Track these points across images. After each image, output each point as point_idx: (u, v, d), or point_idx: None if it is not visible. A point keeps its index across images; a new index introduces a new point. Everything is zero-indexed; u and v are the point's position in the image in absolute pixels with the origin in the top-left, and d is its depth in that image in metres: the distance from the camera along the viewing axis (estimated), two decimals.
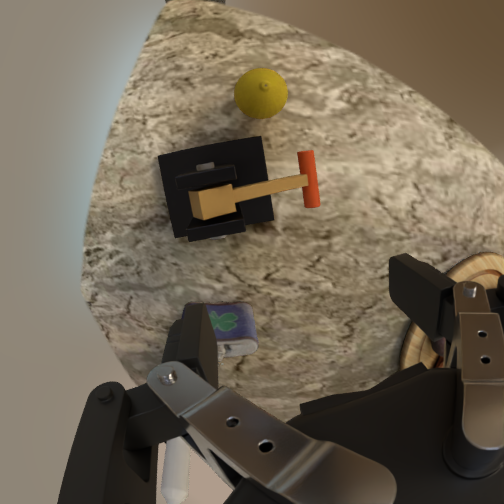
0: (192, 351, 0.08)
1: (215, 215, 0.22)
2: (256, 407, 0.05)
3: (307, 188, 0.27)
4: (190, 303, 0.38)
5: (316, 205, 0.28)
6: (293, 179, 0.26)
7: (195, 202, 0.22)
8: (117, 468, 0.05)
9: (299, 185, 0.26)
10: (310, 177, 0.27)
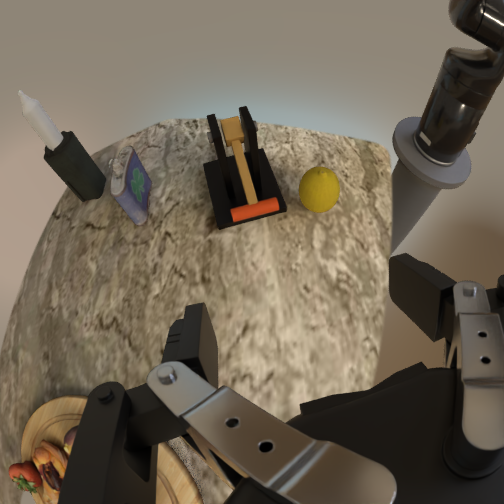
0: (192, 351, 0.08)
1: (223, 127, 0.33)
2: (256, 407, 0.05)
3: (246, 205, 0.34)
4: (151, 181, 0.47)
5: (233, 213, 0.33)
6: (252, 189, 0.34)
7: None
8: (117, 468, 0.05)
9: (247, 195, 0.34)
10: (255, 205, 0.34)
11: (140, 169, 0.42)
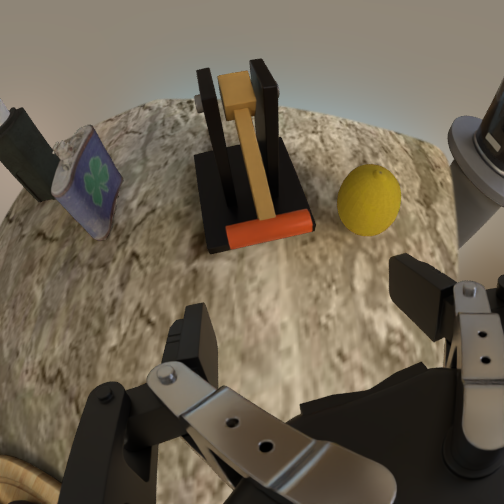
0: (192, 351, 0.08)
1: (221, 85, 0.18)
2: (256, 407, 0.05)
3: (254, 220, 0.19)
4: (121, 177, 0.32)
5: (229, 234, 0.18)
6: (266, 192, 0.19)
7: None
8: (117, 468, 0.05)
9: (258, 203, 0.19)
10: (271, 221, 0.19)
11: (103, 159, 0.28)
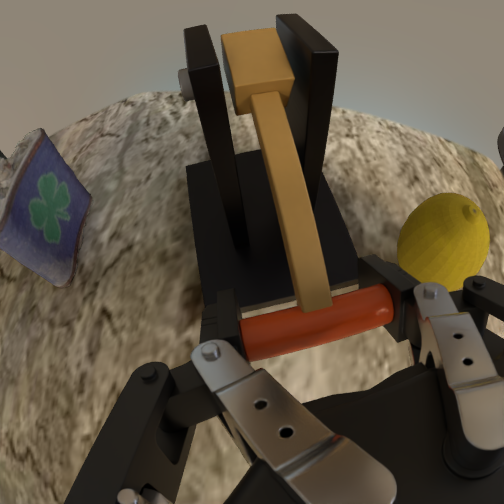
0: (232, 330, 0.09)
1: (228, 50, 0.09)
2: (286, 392, 0.05)
3: (294, 312, 0.10)
4: (90, 197, 0.23)
5: (248, 342, 0.09)
6: (317, 258, 0.10)
7: None
8: (146, 449, 0.05)
9: (301, 281, 0.10)
10: (326, 315, 0.10)
11: (60, 175, 0.18)
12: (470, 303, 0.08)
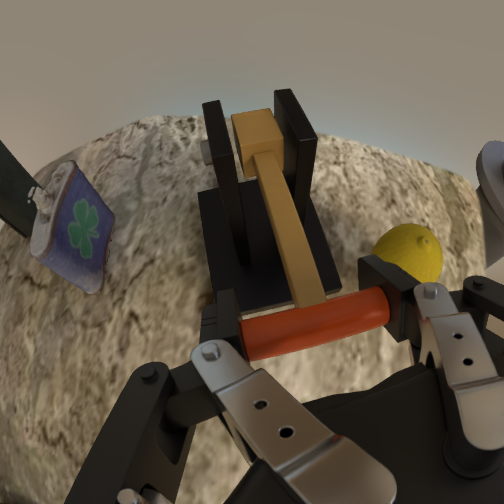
0: (232, 330, 0.09)
1: (235, 124, 0.14)
2: (286, 393, 0.05)
3: (291, 309, 0.11)
4: (113, 216, 0.28)
5: (246, 332, 0.10)
6: (309, 262, 0.11)
7: None
8: (146, 449, 0.05)
9: (295, 280, 0.11)
10: (321, 308, 0.10)
11: (90, 200, 0.23)
12: (470, 303, 0.08)
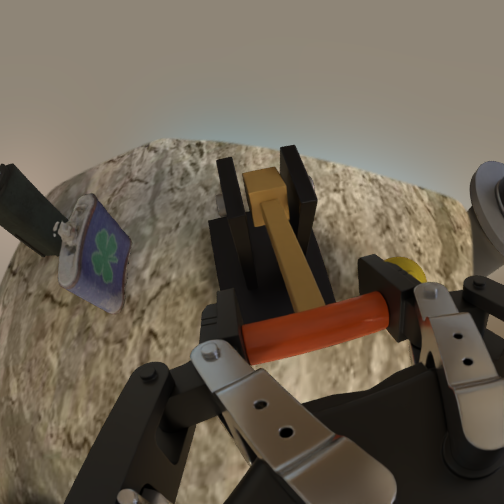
0: (232, 330, 0.09)
1: (245, 179, 0.18)
2: (286, 392, 0.05)
3: (291, 314, 0.11)
4: (130, 241, 0.31)
5: (246, 330, 0.10)
6: (307, 276, 0.12)
7: None
8: (146, 449, 0.05)
9: (295, 290, 0.12)
10: (319, 309, 0.11)
11: (110, 229, 0.27)
12: (471, 303, 0.08)
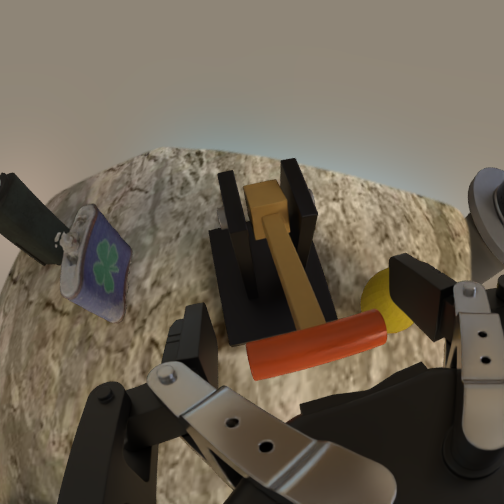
0: (192, 351, 0.08)
1: (246, 192, 0.18)
2: (256, 407, 0.05)
3: (293, 332, 0.11)
4: (130, 250, 0.31)
5: (251, 348, 0.11)
6: (309, 293, 0.12)
7: None
8: (117, 468, 0.05)
9: (296, 308, 0.12)
10: (320, 327, 0.11)
11: (111, 239, 0.27)
12: None
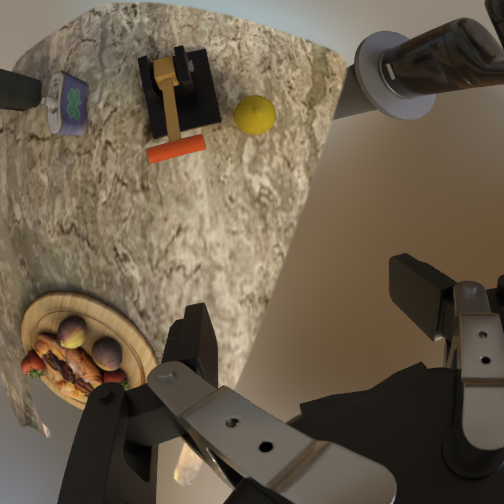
0: (192, 351, 0.08)
1: (154, 66, 0.26)
2: (256, 407, 0.05)
3: (166, 143, 0.26)
4: (87, 85, 0.35)
5: (148, 151, 0.25)
6: (175, 125, 0.26)
7: None
8: (117, 468, 0.05)
9: (169, 132, 0.26)
10: (176, 141, 0.26)
11: (75, 86, 0.31)
12: None
